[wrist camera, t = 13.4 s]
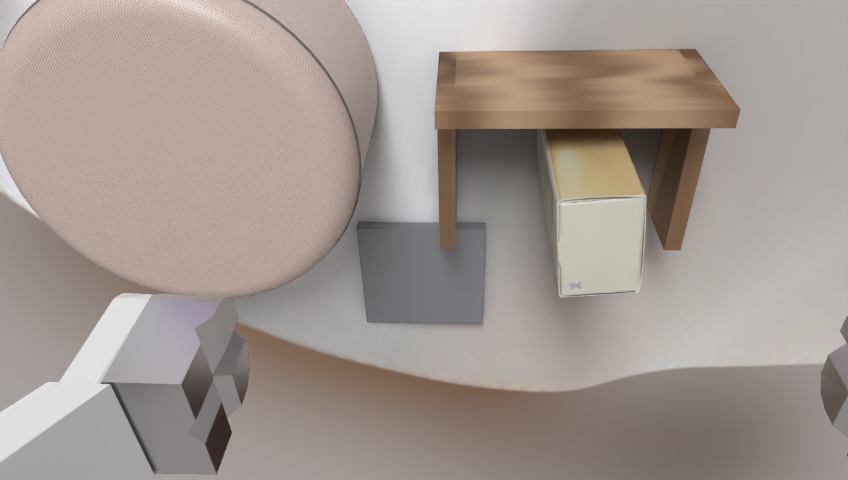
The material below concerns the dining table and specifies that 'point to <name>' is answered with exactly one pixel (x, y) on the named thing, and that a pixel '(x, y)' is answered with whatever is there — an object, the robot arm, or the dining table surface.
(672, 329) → the dining table surface
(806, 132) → the dining table surface
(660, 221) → the shelf bay
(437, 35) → the dining table surface
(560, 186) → the skincare box
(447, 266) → the slate mat
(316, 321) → the dining table surface
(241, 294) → the container
